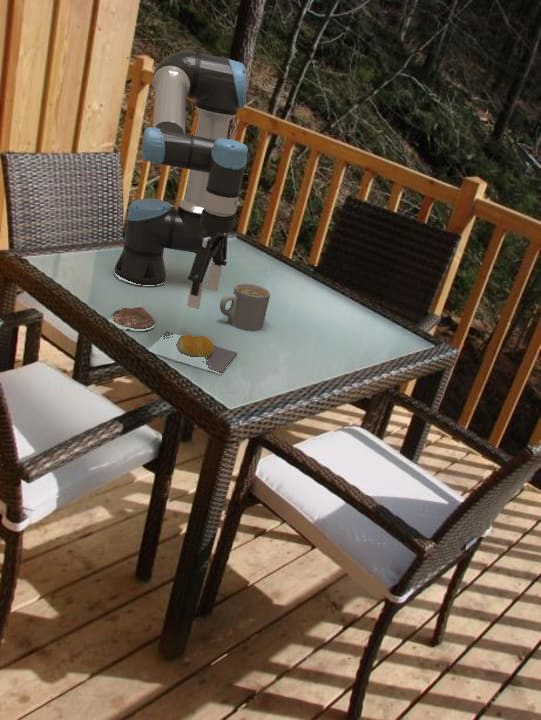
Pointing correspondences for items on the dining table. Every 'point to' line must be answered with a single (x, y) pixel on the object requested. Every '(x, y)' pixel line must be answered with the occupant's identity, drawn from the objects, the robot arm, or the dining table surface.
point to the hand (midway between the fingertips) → (202, 298)
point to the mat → (216, 357)
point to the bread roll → (195, 346)
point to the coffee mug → (246, 306)
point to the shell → (133, 318)
